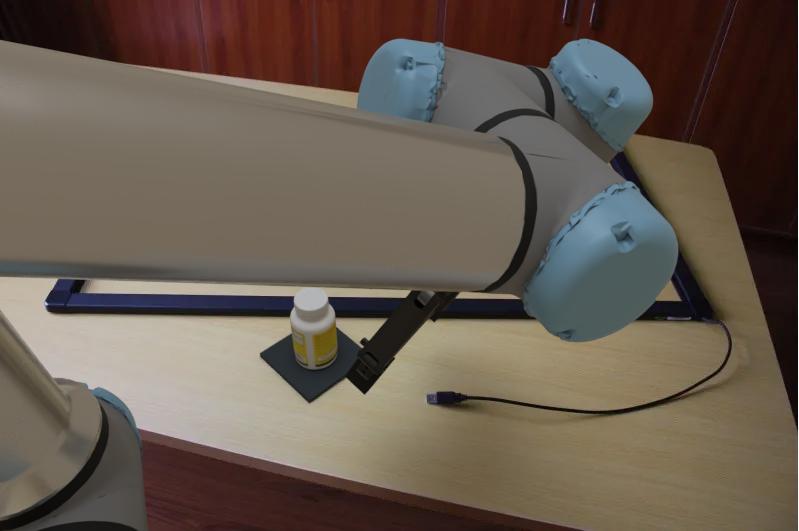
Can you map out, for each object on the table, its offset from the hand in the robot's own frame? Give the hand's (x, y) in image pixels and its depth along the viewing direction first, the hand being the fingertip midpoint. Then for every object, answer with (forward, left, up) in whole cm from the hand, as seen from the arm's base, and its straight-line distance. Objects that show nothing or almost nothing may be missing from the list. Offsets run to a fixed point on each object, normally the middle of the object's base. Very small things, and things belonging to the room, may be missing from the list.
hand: (394, 345), depth 68 cm
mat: (-1, +12, -11) cm, 17 cm away
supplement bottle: (-1, +12, -11) cm, 17 cm away
